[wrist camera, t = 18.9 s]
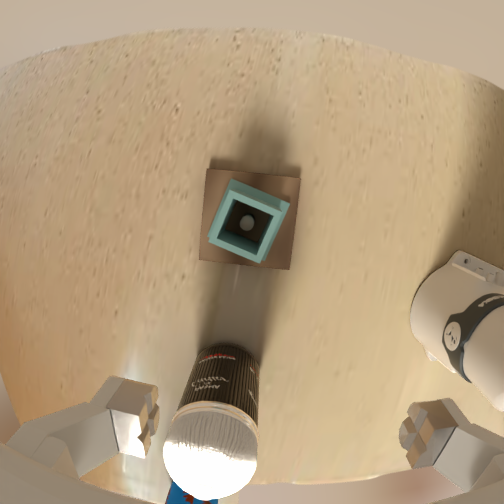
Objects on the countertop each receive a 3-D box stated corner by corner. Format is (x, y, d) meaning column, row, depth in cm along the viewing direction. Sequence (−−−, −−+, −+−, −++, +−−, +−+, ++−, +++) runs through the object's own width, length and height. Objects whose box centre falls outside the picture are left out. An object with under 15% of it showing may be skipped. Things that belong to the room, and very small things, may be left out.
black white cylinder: (184, 346, 47) (129, 467, 23) (249, 331, 46) (235, 461, 22) (208, 398, 49) (177, 521, 25) (268, 385, 48) (269, 516, 24)
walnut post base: (299, 178, 41) (305, 177, 36) (288, 267, 44) (292, 279, 38) (208, 169, 42) (199, 166, 36) (201, 257, 44) (191, 268, 38)
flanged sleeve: (289, 203, 41) (295, 207, 33) (264, 259, 42) (264, 275, 35) (231, 178, 40) (224, 177, 33) (207, 235, 42) (196, 246, 35)
